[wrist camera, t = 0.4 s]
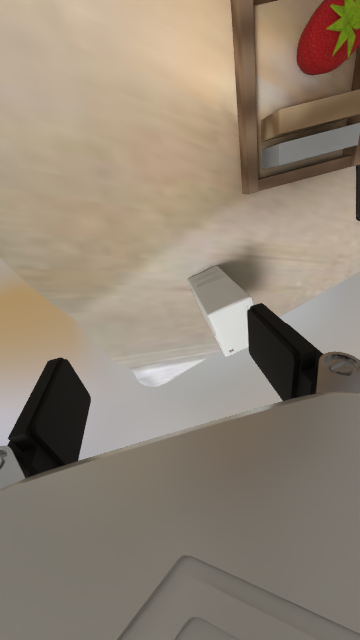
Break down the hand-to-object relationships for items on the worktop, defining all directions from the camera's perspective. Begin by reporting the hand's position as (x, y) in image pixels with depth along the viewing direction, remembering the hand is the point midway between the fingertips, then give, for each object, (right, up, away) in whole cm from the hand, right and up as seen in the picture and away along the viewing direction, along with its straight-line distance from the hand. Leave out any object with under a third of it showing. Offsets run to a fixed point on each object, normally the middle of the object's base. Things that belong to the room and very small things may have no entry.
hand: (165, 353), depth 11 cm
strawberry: (+17, +37, +18) cm, 45 cm away
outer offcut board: (+19, +29, +24) cm, 42 cm away
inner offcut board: (+19, +32, +22) cm, 43 cm away
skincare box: (+6, +8, +33) cm, 34 cm away
